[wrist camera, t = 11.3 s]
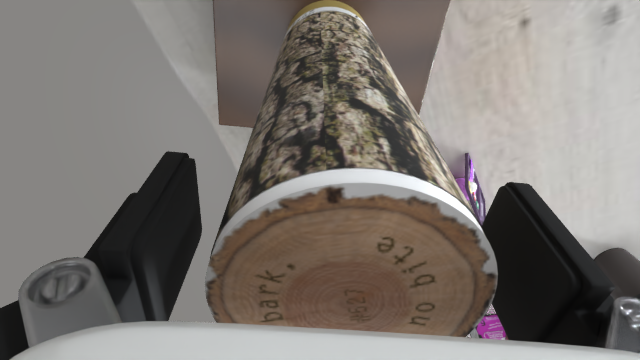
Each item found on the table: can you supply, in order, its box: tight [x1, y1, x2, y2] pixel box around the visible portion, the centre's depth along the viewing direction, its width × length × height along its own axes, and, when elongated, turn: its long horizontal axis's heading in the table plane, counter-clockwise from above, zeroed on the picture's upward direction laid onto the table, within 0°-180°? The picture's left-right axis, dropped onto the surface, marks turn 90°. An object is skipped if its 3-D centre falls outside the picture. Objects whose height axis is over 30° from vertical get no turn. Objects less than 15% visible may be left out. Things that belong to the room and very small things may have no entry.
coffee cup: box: [594, 248, 640, 300], centre depth 55 cm, size 8×8×10 cm
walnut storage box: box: [213, 0, 450, 128], centre depth 34 cm, size 16×18×11 cm
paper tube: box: [205, 0, 498, 337], centre depth 19 cm, size 7×7×25 cm
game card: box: [455, 153, 486, 226], centre depth 48 cm, size 7×5×9 cm
